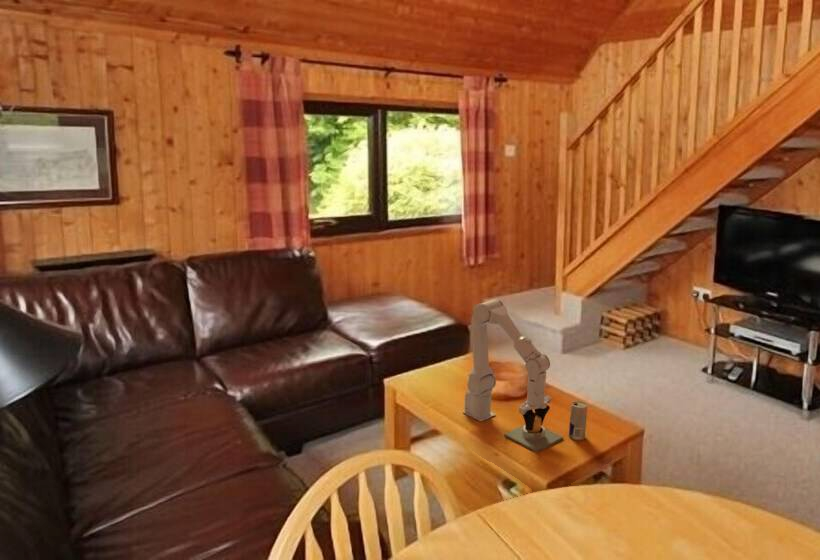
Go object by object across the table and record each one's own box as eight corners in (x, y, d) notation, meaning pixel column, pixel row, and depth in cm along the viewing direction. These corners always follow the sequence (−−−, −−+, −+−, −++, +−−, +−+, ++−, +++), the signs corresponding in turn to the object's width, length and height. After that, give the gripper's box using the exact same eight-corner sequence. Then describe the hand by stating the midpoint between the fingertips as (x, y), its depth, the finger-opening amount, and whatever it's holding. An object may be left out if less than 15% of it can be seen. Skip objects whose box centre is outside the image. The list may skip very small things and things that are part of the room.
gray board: (504, 436, 203) (504, 433, 203) (530, 423, 212) (530, 421, 212) (536, 452, 193) (536, 450, 193) (563, 439, 201) (563, 436, 201)
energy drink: (572, 431, 207) (575, 399, 204) (587, 436, 203) (590, 404, 200) (566, 437, 203) (568, 405, 200) (581, 442, 199) (583, 409, 196)
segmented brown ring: (518, 434, 203) (518, 428, 202) (532, 428, 207) (532, 421, 207) (535, 443, 197) (535, 436, 196) (549, 436, 202) (549, 429, 201)
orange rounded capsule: (524, 430, 202) (525, 417, 201) (533, 426, 205) (533, 413, 203) (534, 435, 199) (535, 422, 197) (543, 431, 201) (544, 418, 200)
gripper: (531, 400, 191) (529, 438, 194) (559, 388, 200) (556, 425, 203) (514, 392, 196) (512, 430, 199) (542, 381, 205) (540, 417, 208)
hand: (534, 427), depth 201 cm, fingers closed on orange rounded capsule, 4 cm apart
